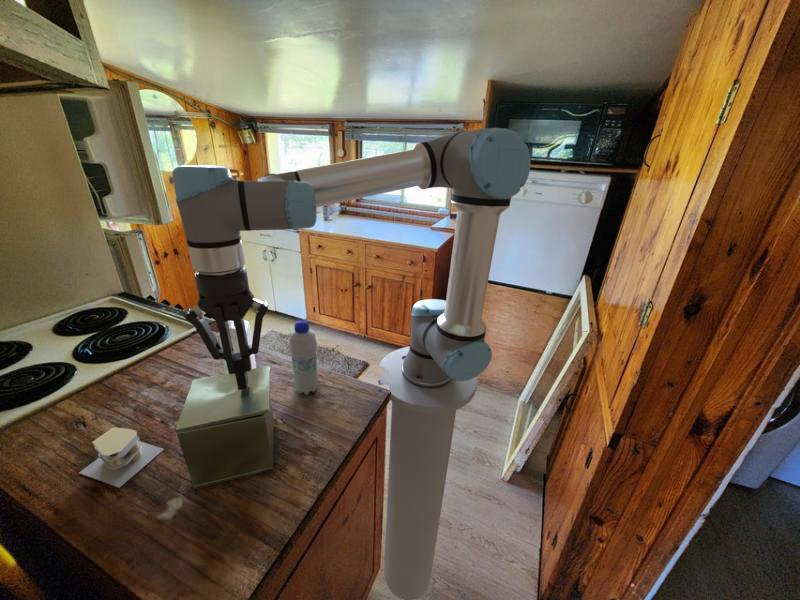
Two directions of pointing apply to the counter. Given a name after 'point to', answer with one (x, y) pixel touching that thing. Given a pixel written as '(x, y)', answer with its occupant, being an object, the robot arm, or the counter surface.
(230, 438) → the bin
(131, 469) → the stacked layers on plate
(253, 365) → the milk
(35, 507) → the counter surface
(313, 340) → the bottle
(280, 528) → the counter surface
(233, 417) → the lid
